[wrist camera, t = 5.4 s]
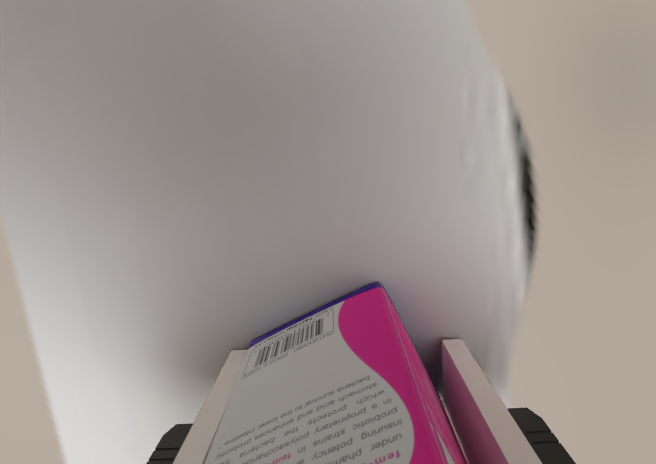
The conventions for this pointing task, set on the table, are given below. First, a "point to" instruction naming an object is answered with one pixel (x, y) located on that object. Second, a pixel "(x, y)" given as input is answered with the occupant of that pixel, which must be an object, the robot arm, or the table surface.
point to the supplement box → (336, 393)
